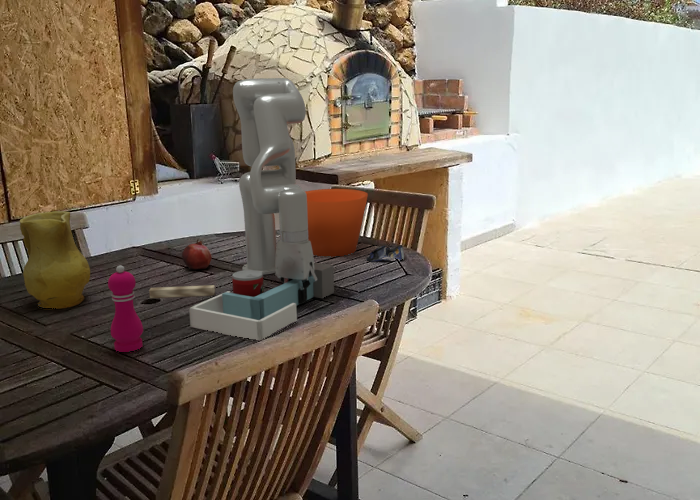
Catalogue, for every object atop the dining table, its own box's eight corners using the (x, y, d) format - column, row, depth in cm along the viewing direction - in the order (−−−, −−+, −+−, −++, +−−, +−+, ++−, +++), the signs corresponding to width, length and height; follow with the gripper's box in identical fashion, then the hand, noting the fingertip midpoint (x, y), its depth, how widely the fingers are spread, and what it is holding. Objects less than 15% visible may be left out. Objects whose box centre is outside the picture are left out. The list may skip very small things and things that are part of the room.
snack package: (387, 268, 224) (409, 259, 233) (383, 248, 223) (407, 240, 232) (360, 267, 233) (383, 259, 241) (356, 248, 232) (380, 241, 240)
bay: (229, 308, 189) (227, 291, 187) (296, 322, 178) (296, 303, 177) (190, 326, 176) (189, 307, 175) (260, 342, 165) (259, 322, 164)
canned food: (259, 320, 180) (257, 278, 177) (230, 318, 181) (227, 277, 178) (268, 310, 187) (266, 270, 184) (240, 308, 188) (237, 269, 186)
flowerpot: (346, 264, 229) (345, 204, 224) (283, 255, 241) (280, 198, 235) (381, 246, 250) (380, 191, 245) (321, 239, 262) (319, 186, 256)
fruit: (177, 271, 225) (174, 240, 222) (194, 263, 233) (192, 234, 231) (201, 273, 221) (199, 243, 219) (217, 265, 230) (215, 236, 227)
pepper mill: (116, 342, 167) (107, 261, 162) (147, 341, 167) (139, 260, 162) (109, 354, 160) (99, 270, 155) (141, 353, 160) (132, 269, 155)
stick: (215, 293, 203) (214, 285, 202) (214, 296, 200) (213, 287, 199) (151, 296, 201) (150, 287, 201) (149, 299, 199) (149, 290, 198)
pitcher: (30, 317, 185) (16, 224, 179) (25, 297, 201) (13, 212, 195) (97, 306, 193) (87, 217, 187) (88, 288, 209) (78, 205, 203)
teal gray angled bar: (290, 285, 206) (289, 259, 204) (334, 292, 199) (333, 265, 197) (223, 315, 181) (221, 286, 179) (270, 325, 174) (268, 294, 172)
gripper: (261, 235, 187) (264, 301, 192) (312, 242, 179) (314, 310, 184) (277, 230, 194) (280, 293, 198) (327, 235, 186) (329, 301, 190)
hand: (297, 300), depth 191 cm, fingers closed on teal gray angled bar, 3 cm apart
